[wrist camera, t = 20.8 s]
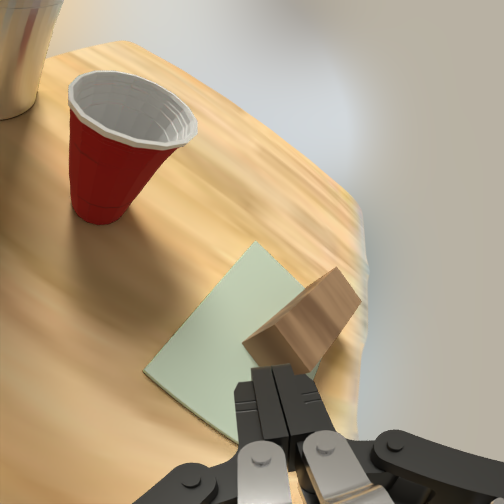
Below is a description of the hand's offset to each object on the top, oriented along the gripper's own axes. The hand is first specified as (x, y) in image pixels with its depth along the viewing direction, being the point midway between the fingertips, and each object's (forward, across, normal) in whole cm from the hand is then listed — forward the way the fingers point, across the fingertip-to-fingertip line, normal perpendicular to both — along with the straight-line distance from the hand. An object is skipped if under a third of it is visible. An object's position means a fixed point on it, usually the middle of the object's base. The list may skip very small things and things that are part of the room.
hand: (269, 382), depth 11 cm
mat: (+16, -2, +9) cm, 18 cm away
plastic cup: (+19, +13, -6) cm, 24 cm away
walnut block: (+12, -2, +8) cm, 14 cm away
